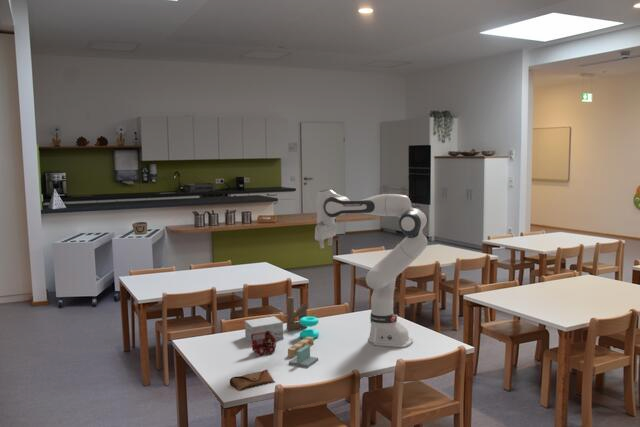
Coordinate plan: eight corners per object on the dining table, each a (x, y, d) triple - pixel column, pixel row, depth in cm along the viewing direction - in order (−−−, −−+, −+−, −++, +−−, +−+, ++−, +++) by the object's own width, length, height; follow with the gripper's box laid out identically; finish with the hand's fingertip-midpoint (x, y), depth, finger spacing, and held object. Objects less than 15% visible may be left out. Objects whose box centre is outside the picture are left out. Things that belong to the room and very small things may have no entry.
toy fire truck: (278, 352, 279) (278, 331, 278) (254, 357, 273) (254, 335, 272) (272, 348, 285) (272, 327, 284) (249, 352, 279) (248, 332, 278)
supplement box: (275, 332, 311) (274, 315, 310) (283, 339, 299) (283, 321, 298) (244, 337, 304) (244, 319, 303) (252, 344, 292) (251, 326, 291)
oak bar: (307, 344, 291) (307, 336, 291) (313, 345, 289) (313, 337, 289) (287, 357, 273) (287, 348, 273) (294, 358, 272) (294, 349, 271)
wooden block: (307, 328, 317) (306, 296, 315) (288, 330, 313) (287, 298, 311) (304, 326, 320) (304, 294, 318) (286, 329, 316) (285, 297, 314)
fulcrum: (318, 360, 267) (318, 346, 266) (308, 367, 258) (307, 353, 257) (299, 357, 271) (299, 343, 271) (288, 364, 263) (288, 350, 262)
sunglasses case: (237, 391, 233) (234, 375, 235) (232, 395, 238) (228, 379, 241) (277, 381, 243) (272, 366, 245) (270, 385, 248) (266, 370, 250)
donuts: (321, 316, 303) (314, 321, 294) (321, 335, 304) (314, 340, 295) (304, 315, 307) (296, 320, 298) (304, 333, 308) (296, 338, 299)
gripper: (322, 223, 290) (323, 250, 291) (338, 218, 308) (339, 244, 310) (311, 222, 293) (312, 249, 294) (327, 218, 311) (328, 243, 313)
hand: (326, 246), depth 302 cm, fingers open, 8 cm apart
